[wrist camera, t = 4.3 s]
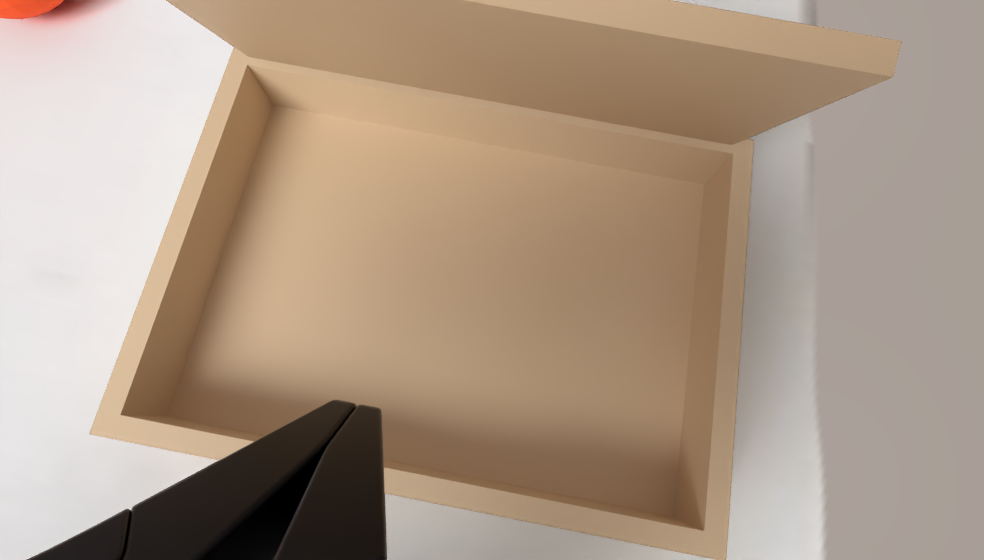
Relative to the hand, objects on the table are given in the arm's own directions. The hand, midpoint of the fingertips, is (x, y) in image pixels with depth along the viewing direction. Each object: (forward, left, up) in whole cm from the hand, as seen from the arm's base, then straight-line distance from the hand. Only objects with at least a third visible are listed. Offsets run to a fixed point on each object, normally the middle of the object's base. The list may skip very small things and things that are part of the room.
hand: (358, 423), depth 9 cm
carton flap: (+13, 0, -10) cm, 16 cm away
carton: (+6, 0, -14) cm, 15 cm away
